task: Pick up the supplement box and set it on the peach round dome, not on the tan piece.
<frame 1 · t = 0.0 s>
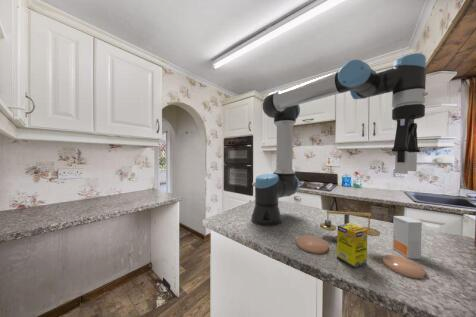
hand: (406, 172, 56), 28 cm above the countertop, fingers open, 13 cm apart
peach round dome: (311, 245, 64), on the countertop
tan piece: (402, 267, 51), on the countertop
balance: (346, 243, 65), on the countertop
skincare box: (406, 254, 59), on the countertop
supplement box: (351, 261, 54), on the countertop
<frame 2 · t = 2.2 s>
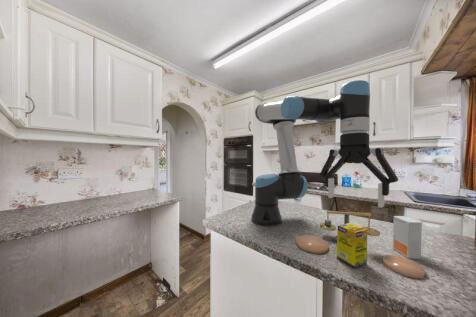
hand: (353, 201, 54), 19 cm above the countertop, fingers open, 13 cm apart
nothing on the countertop moved.
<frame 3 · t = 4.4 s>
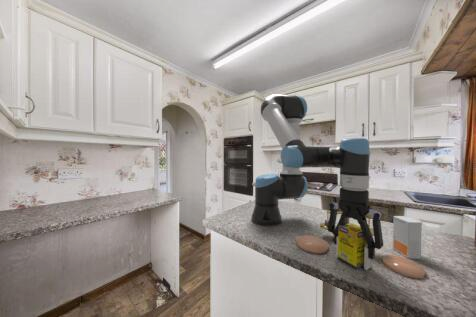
hand: (352, 261, 54), 0 cm above the countertop, fingers open, 7 cm apart
supplement box: (352, 262, 54), on the countertop, touching gripper
everything else where it was.
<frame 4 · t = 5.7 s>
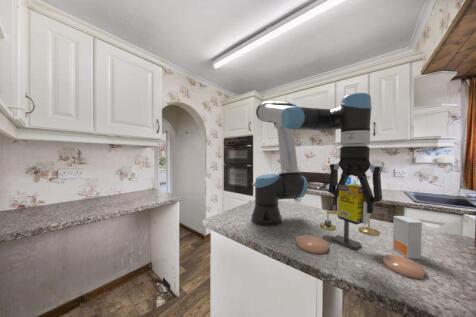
hand: (352, 219, 54), 13 cm above the countertop, fingers closed on supplement box, 6 cm apart
supplement box: (352, 220, 54), point 13 cm above the countertop, touching gripper
everything else where it was.
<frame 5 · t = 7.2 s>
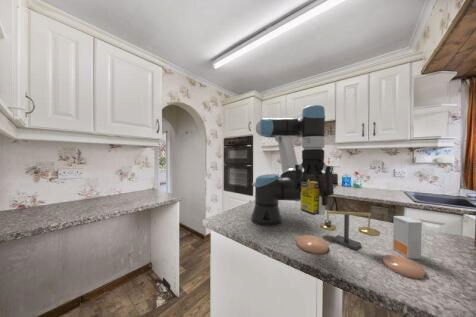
hand: (312, 211, 63), 13 cm above the countertop, fingers closed on supplement box, 6 cm apart
supplement box: (312, 212, 64), point 12 cm above the countertop, touching gripper
everything else where it was.
when the fingers open (2 cm above the countertop, at t = 9.2 s): supplement box stays where it is, resting on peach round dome.
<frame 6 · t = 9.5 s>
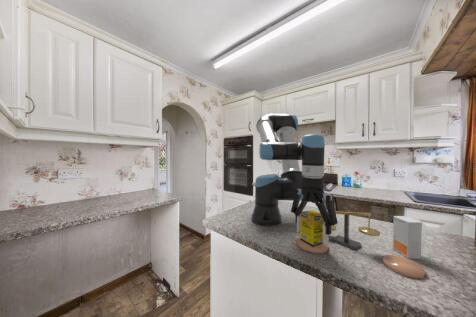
hand: (311, 237, 64), 3 cm above the countertop, fingers open, 9 cm apart
supplement box: (312, 242, 64), point 1 cm above the countertop, touching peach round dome
everything else where it was.
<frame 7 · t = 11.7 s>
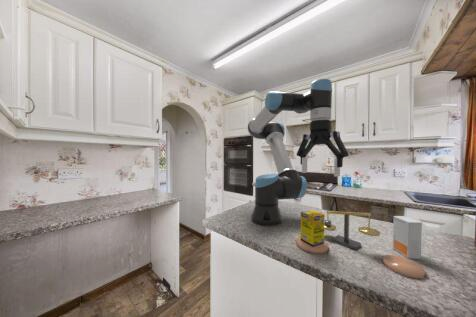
hand: (319, 174, 69), 26 cm above the countertop, fingers open, 13 cm apart
nothing on the countertop moved.
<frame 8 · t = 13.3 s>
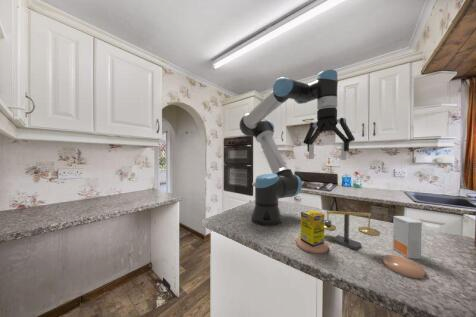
hand: (326, 159, 73), 32 cm above the countertop, fingers open, 13 cm apart
nothing on the countertop moved.
at the end: supplement box 0.2 cm from the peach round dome (horizontally); supplement box touching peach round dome; supplement box tilted 0° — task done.
